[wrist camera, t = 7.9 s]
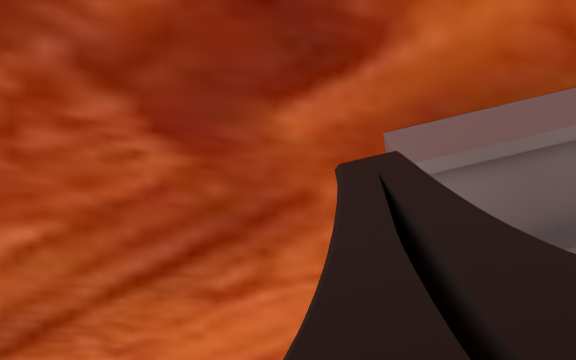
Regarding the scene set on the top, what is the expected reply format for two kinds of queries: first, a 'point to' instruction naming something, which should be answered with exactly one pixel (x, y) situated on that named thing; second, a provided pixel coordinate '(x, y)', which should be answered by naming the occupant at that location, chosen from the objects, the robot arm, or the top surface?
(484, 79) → the top surface
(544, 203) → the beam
